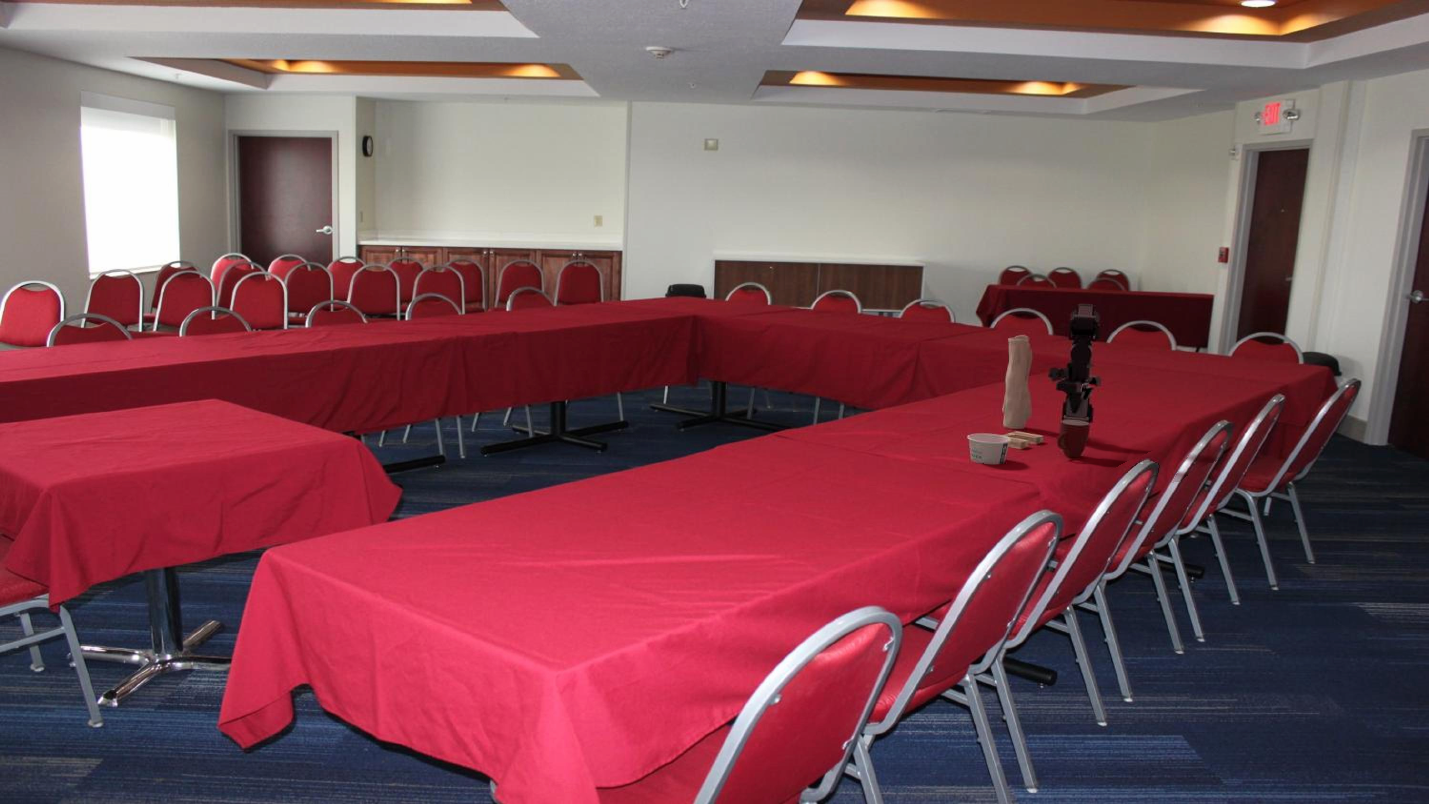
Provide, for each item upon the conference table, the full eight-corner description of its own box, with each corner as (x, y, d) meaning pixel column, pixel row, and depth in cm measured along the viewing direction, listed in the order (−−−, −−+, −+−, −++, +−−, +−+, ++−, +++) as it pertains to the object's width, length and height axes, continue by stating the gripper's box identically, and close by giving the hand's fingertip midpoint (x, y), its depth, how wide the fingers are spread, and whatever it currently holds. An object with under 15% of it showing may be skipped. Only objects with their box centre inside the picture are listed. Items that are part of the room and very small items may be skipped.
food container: (957, 458, 302) (958, 436, 301) (984, 453, 309) (986, 431, 308) (991, 467, 293) (992, 444, 292) (1018, 462, 300) (1020, 439, 299)
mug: (1072, 462, 301) (1075, 427, 299) (1047, 456, 307) (1049, 422, 305) (1092, 457, 308) (1095, 423, 306) (1067, 451, 314) (1070, 418, 312)
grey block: (1070, 413, 314) (1071, 397, 313) (1086, 416, 310) (1088, 399, 309) (1065, 415, 311) (1067, 398, 310) (1082, 417, 308) (1084, 400, 307)
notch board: (1015, 437, 332) (1016, 431, 331) (1042, 442, 326) (1043, 435, 325) (993, 444, 322) (993, 437, 321) (1020, 449, 316) (1020, 442, 315)
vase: (1011, 423, 353) (1018, 333, 347) (1034, 428, 347) (1041, 336, 341) (996, 427, 347) (1003, 335, 342) (1019, 431, 341) (1026, 338, 335)
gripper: (1067, 353, 320) (1063, 404, 323) (1040, 359, 306) (1036, 412, 309) (1103, 357, 313) (1099, 409, 316) (1078, 363, 299) (1073, 418, 302)
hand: (1076, 412), depth 311 cm, fingers closed on grey block, 3 cm apart
